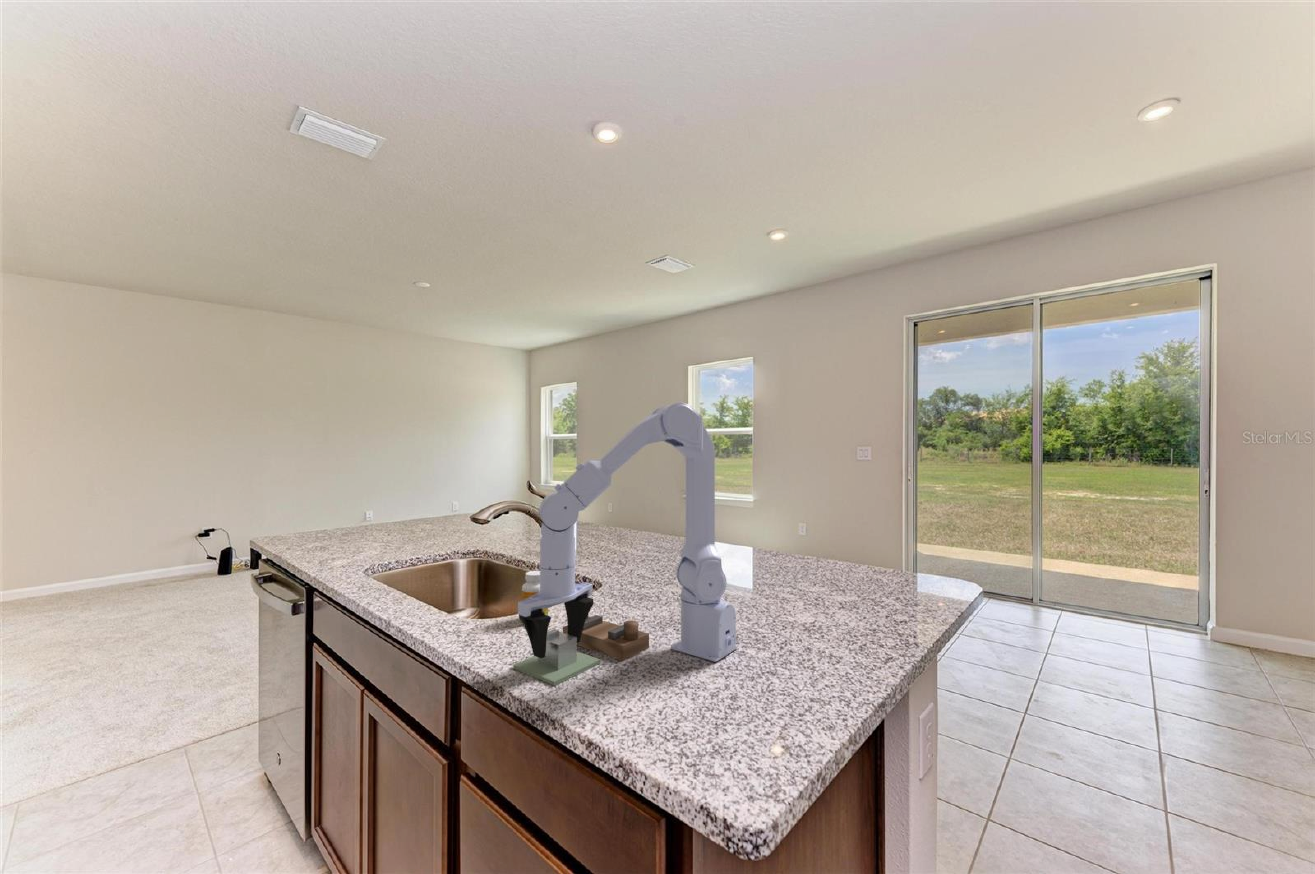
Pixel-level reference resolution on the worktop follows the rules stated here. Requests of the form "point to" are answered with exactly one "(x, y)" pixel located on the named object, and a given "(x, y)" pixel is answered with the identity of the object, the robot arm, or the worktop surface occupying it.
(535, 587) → the supplement bottle
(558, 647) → the lever cap
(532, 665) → the rubber mat
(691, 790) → the worktop surface
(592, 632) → the plane body
